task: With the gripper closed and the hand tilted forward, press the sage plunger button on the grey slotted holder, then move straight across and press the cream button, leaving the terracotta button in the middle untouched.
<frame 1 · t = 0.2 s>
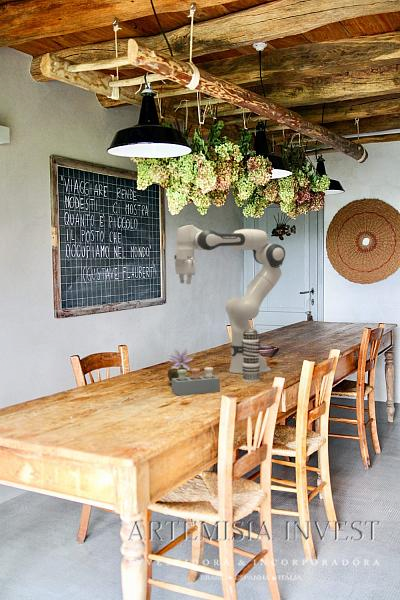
hand: (185, 283, 313), 48 cm above the table, tool pointing down, fingers open, 8 cm apart
water lily: (179, 369, 337), on the table
sage button: (182, 377, 277), point 7 cm above the table, slide at 0.0 cm
potato: (176, 384, 298), on the table
cream button: (208, 375, 282), point 7 cm above the table, slide at 0.0 cm
grey slotted holder: (195, 391, 280), on the table
terracotta button: (195, 376, 279), point 7 cm above the table, slide at 0.0 cm
decorative candle: (251, 380, 304), on the table
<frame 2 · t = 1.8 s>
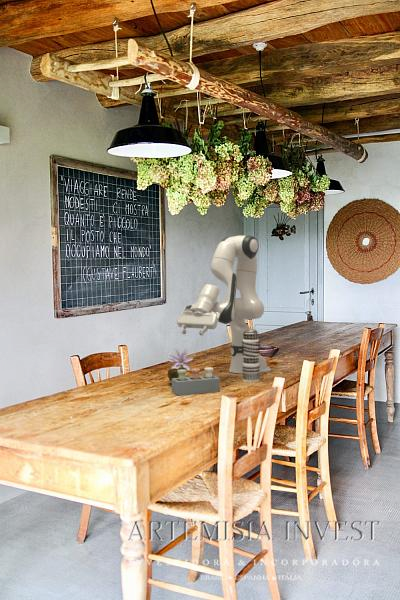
hand: (192, 334, 288), 25 cm above the table, tool tilted 45°, fingers open, 8 cm apart
nothing on the table moved.
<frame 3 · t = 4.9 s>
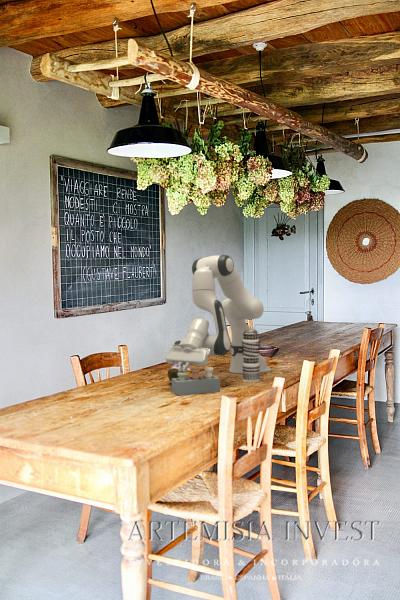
hand: (181, 371, 277), 10 cm above the table, tool tilted 45°, fingers closed, pressing on sage button
sage button: (182, 380, 277), point 6 cm above the table, slide at -1.2 cm, touching gripper
everything else where it was.
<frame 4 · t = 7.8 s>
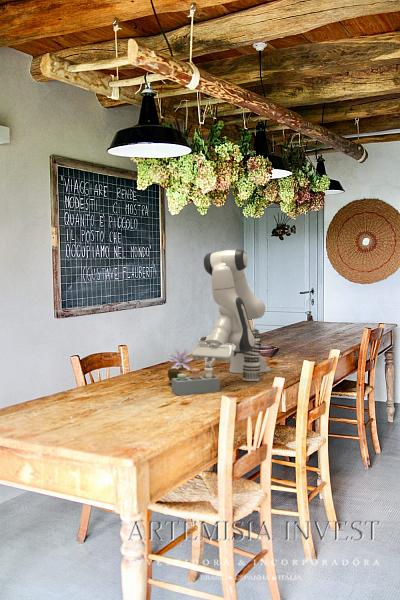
hand: (207, 366, 281), 11 cm above the table, tool tilted 45°, fingers closed, pressing on cream button
sage button: (182, 382, 277), point 5 cm above the table, slide at -1.9 cm
cream button: (208, 375, 282), point 7 cm above the table, slide at 0.0 cm, touching gripper
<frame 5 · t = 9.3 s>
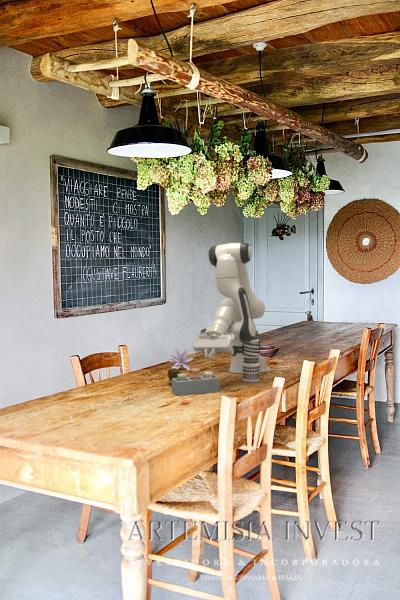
hand: (207, 358, 282), 15 cm above the table, tool tilted 45°, fingers closed
cream button: (208, 379, 282), point 5 cm above the table, slide at -1.9 cm
decorative candle: (251, 380, 304), on the table, touching arm
everything else where it was.
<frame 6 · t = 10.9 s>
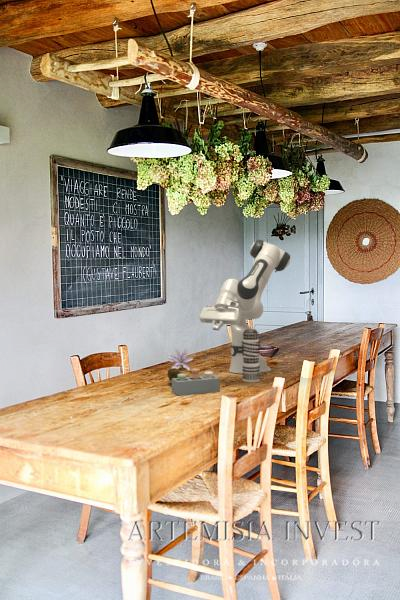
hand: (215, 329, 290), 27 cm above the table, tool tilted 45°, fingers closed
decorative candle: (251, 380, 304), on the table
everything else where it was.
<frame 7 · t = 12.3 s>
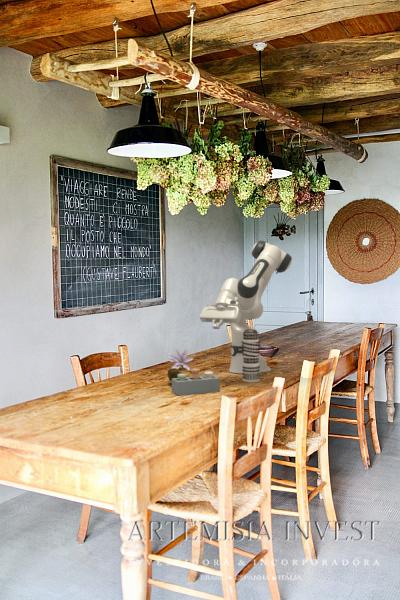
hand: (215, 328, 290), 27 cm above the table, tool tilted 45°, fingers closed
nothing on the table moved.
at the end: sage button slide at -1.9 cm; cream button slide at -1.9 cm; terracotta button slide at 0.0 cm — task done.
